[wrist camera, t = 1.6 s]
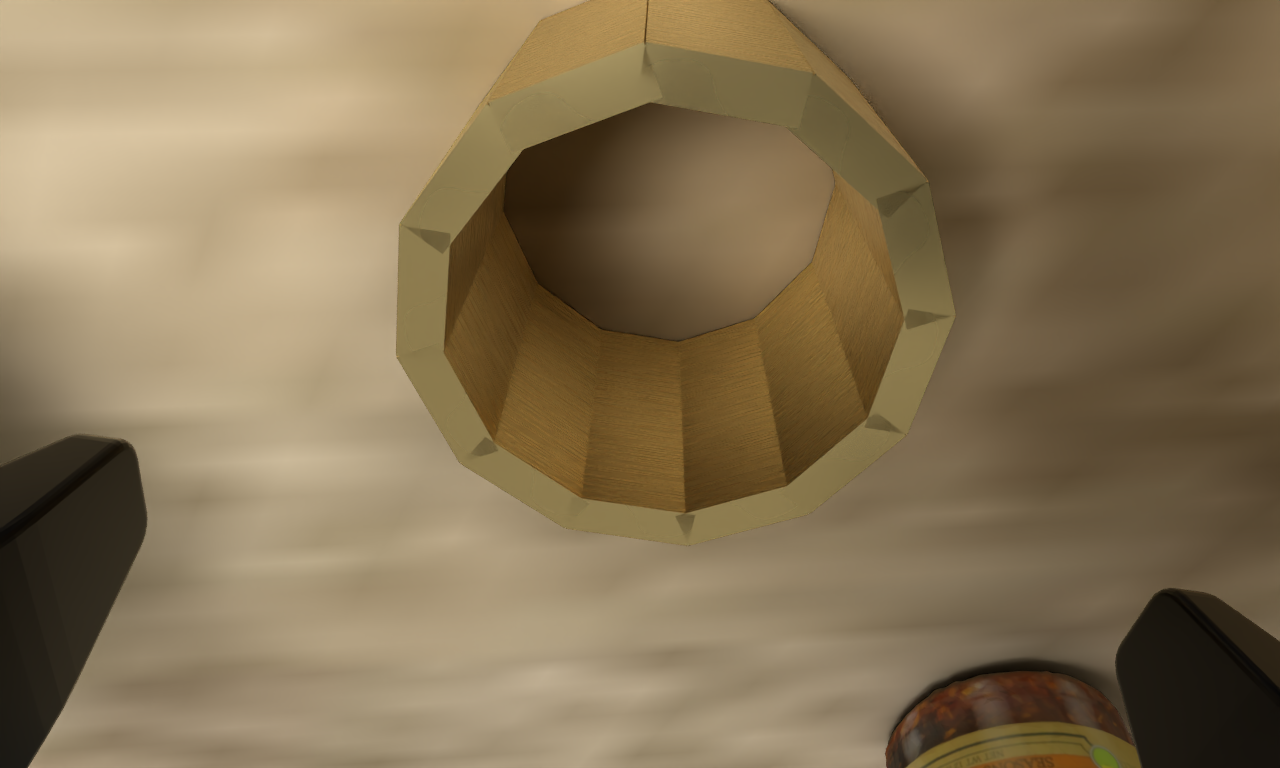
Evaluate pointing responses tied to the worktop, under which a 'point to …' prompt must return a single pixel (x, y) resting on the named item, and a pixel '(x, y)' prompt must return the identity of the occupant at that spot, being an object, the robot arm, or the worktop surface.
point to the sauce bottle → (1013, 726)
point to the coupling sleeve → (656, 368)
